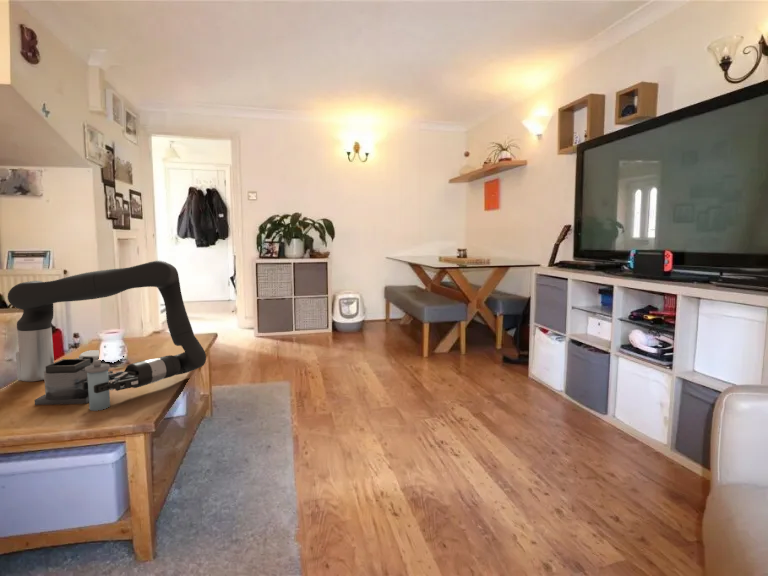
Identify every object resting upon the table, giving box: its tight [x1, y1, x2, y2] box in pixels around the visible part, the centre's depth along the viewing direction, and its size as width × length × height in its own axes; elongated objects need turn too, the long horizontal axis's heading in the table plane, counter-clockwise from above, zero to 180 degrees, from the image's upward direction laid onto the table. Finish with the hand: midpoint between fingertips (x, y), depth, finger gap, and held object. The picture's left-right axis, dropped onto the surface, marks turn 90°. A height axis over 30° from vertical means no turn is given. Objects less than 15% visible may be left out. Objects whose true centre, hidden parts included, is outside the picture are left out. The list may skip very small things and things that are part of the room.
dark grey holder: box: [34, 358, 91, 406], centre depth 134 cm, size 14×14×11 cm
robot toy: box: [75, 349, 99, 365], centre depth 172 cm, size 12×4×15 cm
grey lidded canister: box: [85, 360, 111, 412], centre depth 126 cm, size 6×6×14 cm
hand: (89, 387), depth 124 cm, fingers closed on grey lidded canister, 5 cm apart
